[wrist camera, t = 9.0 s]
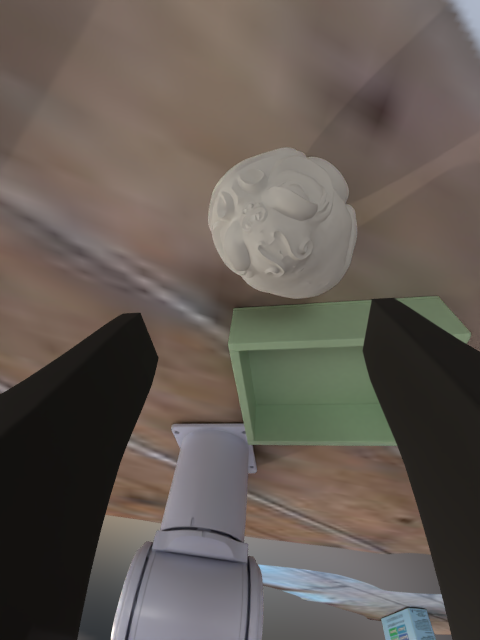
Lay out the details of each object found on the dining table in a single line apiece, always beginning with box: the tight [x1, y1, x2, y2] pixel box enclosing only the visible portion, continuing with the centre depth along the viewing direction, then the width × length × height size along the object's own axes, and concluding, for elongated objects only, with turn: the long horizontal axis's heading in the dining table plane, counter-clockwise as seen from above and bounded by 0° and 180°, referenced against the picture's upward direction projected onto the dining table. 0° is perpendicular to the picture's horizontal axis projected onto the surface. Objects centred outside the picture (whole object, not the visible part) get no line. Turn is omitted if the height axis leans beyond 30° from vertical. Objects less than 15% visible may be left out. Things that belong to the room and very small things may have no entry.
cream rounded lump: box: [208, 147, 357, 299], centre depth 13 cm, size 6×7×7 cm
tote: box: [228, 296, 471, 446], centre depth 21 cm, size 11×13×4 cm
